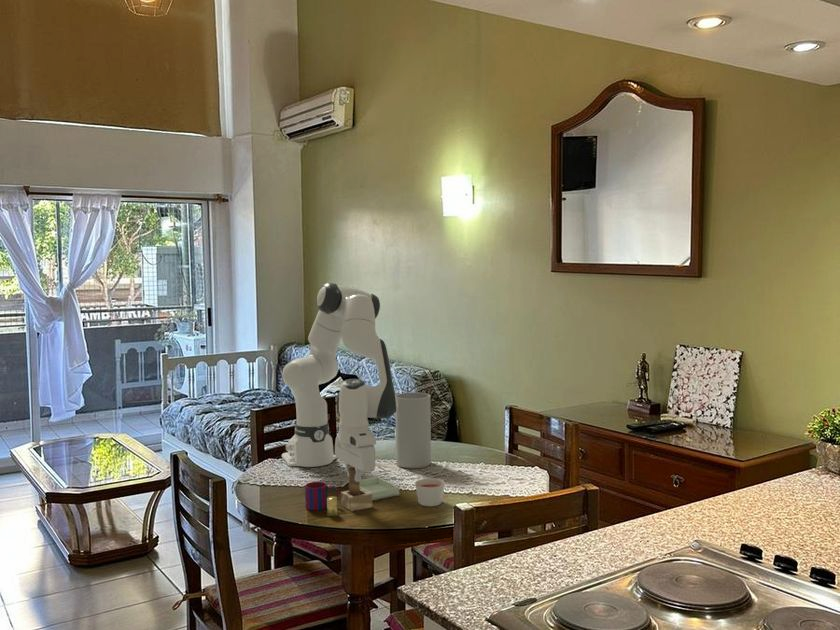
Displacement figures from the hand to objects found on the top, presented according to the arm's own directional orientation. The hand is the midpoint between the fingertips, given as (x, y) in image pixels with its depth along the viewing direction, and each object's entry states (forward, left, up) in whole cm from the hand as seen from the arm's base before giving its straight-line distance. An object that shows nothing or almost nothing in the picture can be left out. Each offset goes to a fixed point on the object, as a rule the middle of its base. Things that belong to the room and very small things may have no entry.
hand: (354, 479), depth 232 cm
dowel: (0, 0, -6) cm, 6 cm away
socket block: (0, 0, -8) cm, 8 cm away
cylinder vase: (-29, +38, -8) cm, 49 cm away
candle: (+10, +20, -9) cm, 24 cm away
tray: (-8, +11, -8) cm, 16 cm away
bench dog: (+3, -9, -8) cm, 13 cm away
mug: (-5, -9, -9) cm, 13 cm away
